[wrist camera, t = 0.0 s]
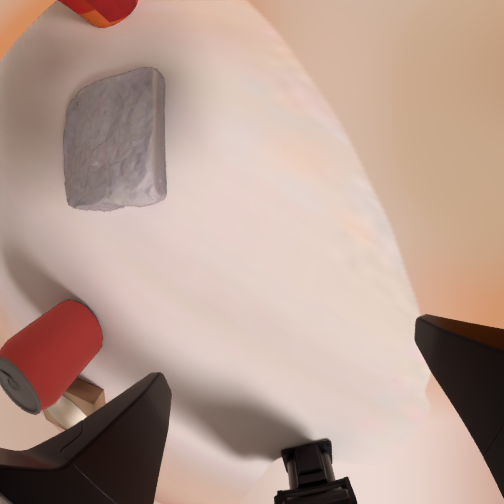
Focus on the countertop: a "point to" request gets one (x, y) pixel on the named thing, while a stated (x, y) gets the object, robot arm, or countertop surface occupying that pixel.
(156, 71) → the stone block
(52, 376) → the beer can
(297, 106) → the countertop surface
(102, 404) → the walnut pedestal
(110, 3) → the paper cup
